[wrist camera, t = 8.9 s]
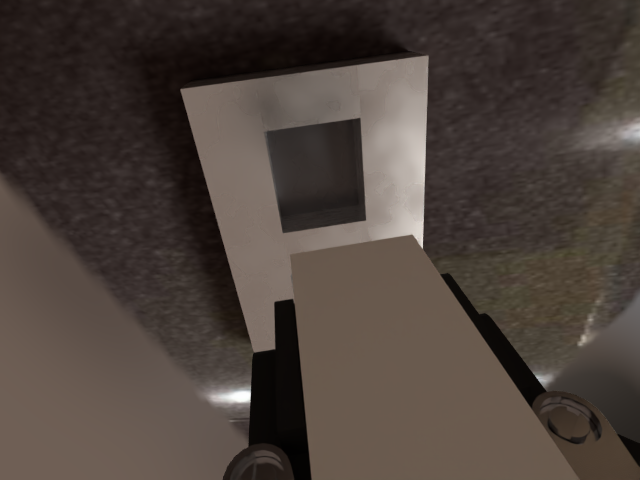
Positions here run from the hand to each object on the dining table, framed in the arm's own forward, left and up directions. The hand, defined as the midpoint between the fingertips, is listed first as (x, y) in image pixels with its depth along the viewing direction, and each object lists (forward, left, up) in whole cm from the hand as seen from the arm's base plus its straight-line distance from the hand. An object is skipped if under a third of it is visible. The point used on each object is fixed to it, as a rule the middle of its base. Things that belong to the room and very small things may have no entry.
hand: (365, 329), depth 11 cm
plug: (0, 0, -1) cm, 1 cm away
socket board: (+4, 0, -15) cm, 15 cm away
